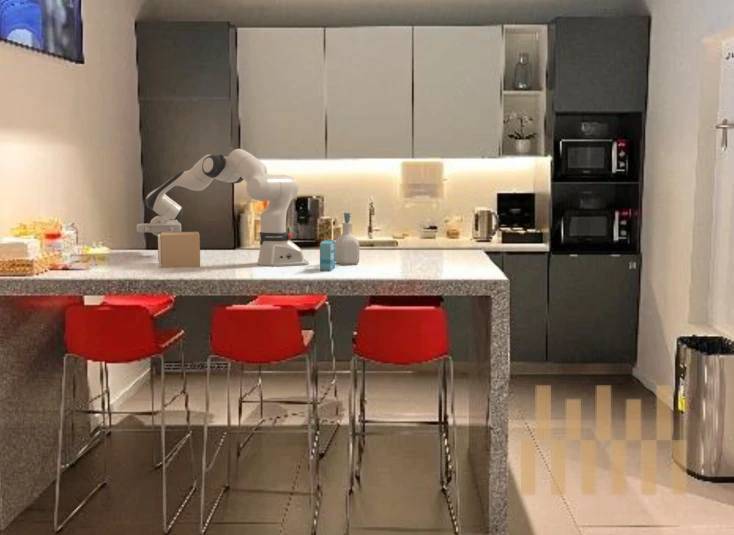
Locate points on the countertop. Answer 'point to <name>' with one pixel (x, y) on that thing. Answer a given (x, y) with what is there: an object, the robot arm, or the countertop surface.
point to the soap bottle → (347, 245)
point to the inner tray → (159, 250)
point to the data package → (327, 255)
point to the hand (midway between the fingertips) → (159, 229)
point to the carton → (180, 249)
